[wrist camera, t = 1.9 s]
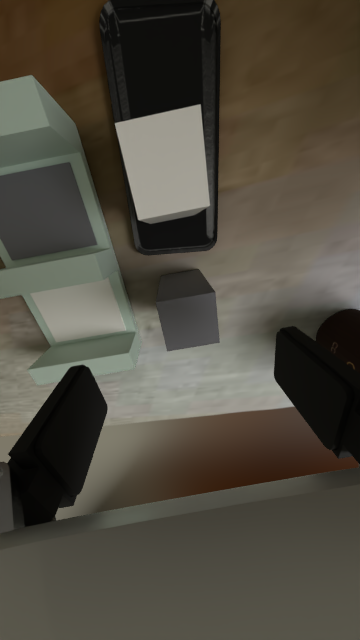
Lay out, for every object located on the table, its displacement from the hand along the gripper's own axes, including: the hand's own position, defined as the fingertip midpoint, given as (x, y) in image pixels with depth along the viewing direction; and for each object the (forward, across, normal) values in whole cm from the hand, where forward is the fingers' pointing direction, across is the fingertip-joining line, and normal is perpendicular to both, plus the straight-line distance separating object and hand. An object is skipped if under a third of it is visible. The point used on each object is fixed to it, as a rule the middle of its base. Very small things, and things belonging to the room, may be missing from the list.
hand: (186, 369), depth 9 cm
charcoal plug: (+12, -1, 0) cm, 12 cm away
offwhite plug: (+12, -1, -9) cm, 15 cm away
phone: (+13, -2, -12) cm, 18 cm away
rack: (+13, +10, -5) cm, 17 cm away
